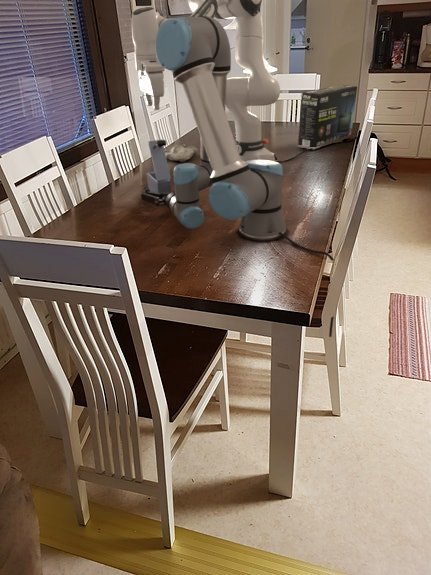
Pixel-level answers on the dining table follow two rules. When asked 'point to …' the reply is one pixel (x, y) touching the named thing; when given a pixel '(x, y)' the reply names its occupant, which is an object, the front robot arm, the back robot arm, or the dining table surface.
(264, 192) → the front robot arm
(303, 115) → the router box
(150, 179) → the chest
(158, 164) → the grey long flat panel
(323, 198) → the dining table surface
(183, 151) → the fossil
